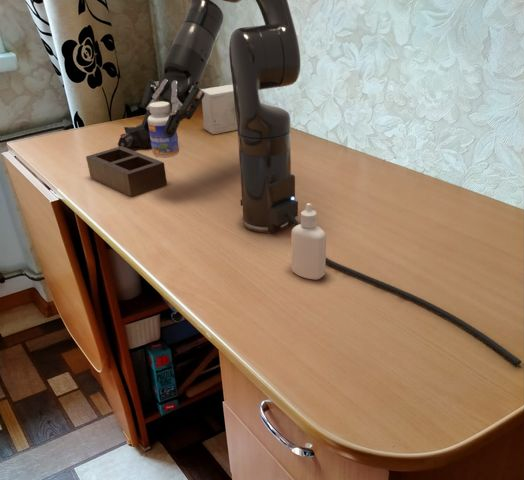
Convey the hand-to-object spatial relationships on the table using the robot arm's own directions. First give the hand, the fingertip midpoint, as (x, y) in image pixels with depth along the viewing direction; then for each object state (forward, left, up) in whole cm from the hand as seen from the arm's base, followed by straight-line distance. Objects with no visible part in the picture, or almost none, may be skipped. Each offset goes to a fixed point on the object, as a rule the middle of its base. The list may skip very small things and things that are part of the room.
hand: (156, 132), depth 113 cm
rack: (+15, 0, -14) cm, 20 cm away
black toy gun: (+31, -18, -14) cm, 39 cm away
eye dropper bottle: (-44, +3, -14) cm, 46 cm away
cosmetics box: (+27, -40, -14) cm, 50 cm away
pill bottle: (0, -2, -5) cm, 5 cm away
